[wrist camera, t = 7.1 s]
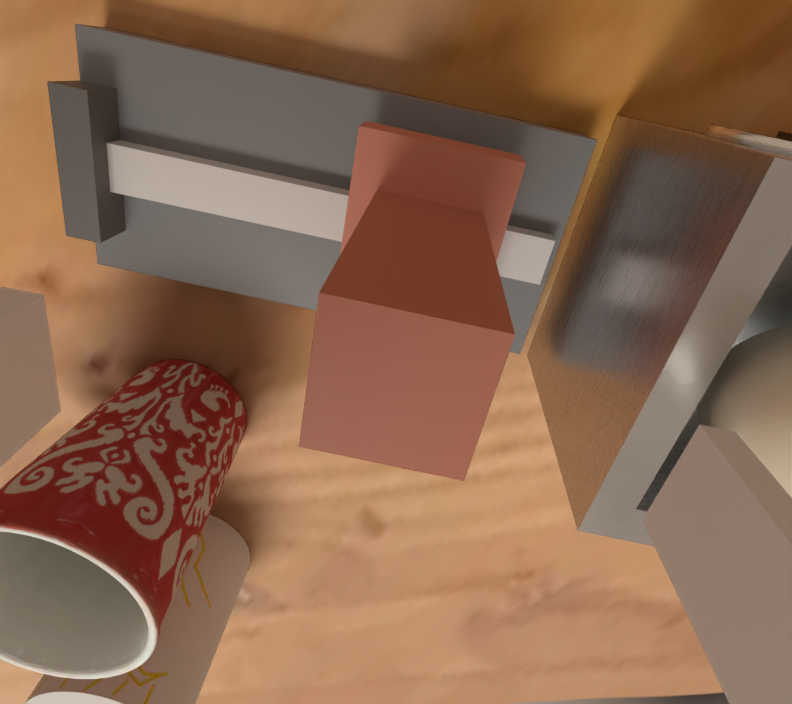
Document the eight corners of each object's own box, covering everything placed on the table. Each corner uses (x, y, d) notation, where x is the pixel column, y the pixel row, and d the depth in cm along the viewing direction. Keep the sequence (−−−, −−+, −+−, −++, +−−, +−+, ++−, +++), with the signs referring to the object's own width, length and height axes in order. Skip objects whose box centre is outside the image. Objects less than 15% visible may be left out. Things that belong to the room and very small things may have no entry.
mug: (232, 331, 29) (82, 515, 17) (283, 457, 33) (191, 677, 21) (36, 364, 31) (-218, 548, 19) (107, 478, 35) (-65, 688, 23)
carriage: (337, 308, 24) (252, 498, 13) (366, 120, 20) (277, 179, 9) (465, 335, 24) (482, 545, 13) (519, 154, 20) (602, 250, 9)
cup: (240, 511, 35) (154, 698, 25) (258, 589, 39) (189, 780, 29) (127, 505, 36) (-4, 685, 25) (155, 583, 40) (51, 767, 29)
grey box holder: (527, 355, 28) (577, 530, 17) (622, 98, 22) (791, 125, 11) (671, 386, 28) (808, 578, 17) (807, 139, 22) (1145, 205, 11)
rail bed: (120, 251, 27) (71, 278, 23) (104, 27, 22) (39, 19, 18) (514, 335, 27) (525, 375, 24) (585, 134, 22) (611, 146, 19)
